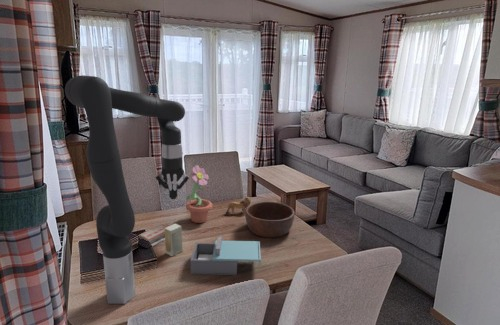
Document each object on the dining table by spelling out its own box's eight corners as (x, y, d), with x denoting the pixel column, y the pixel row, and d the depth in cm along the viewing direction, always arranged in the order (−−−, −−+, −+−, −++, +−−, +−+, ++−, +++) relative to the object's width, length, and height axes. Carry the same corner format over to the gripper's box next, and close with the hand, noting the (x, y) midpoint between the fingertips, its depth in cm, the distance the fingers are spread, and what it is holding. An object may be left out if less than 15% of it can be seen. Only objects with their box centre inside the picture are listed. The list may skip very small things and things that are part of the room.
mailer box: (236, 274, 133) (236, 261, 131) (190, 273, 133) (190, 260, 131) (237, 256, 146) (238, 243, 145) (196, 255, 146) (196, 242, 144)
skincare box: (176, 247, 152) (175, 222, 148) (183, 251, 149) (182, 225, 146) (164, 253, 147) (163, 227, 144) (171, 257, 144) (170, 230, 141)
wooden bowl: (296, 222, 181) (298, 204, 178) (289, 244, 158) (290, 224, 155) (251, 216, 187) (252, 198, 185) (238, 236, 164) (238, 216, 161)
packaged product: (162, 220, 168) (176, 226, 163) (162, 229, 170) (176, 235, 164) (131, 234, 154) (146, 240, 148) (132, 243, 155) (147, 250, 150)
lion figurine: (249, 209, 196) (249, 195, 193) (252, 213, 191) (252, 198, 188) (224, 212, 191) (224, 197, 189) (226, 216, 186) (226, 200, 184)
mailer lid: (260, 265, 131) (261, 252, 130) (211, 264, 131) (211, 251, 130) (259, 246, 145) (259, 235, 144) (215, 245, 145) (215, 234, 144)
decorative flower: (199, 229, 170) (198, 172, 162) (179, 222, 177) (177, 167, 169) (217, 218, 183) (217, 165, 175) (197, 212, 189) (197, 161, 182)
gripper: (151, 157, 123) (153, 201, 127) (188, 158, 123) (189, 202, 127) (157, 152, 130) (159, 194, 134) (191, 153, 130) (192, 195, 134)
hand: (173, 198), depth 131 cm, fingers closed
